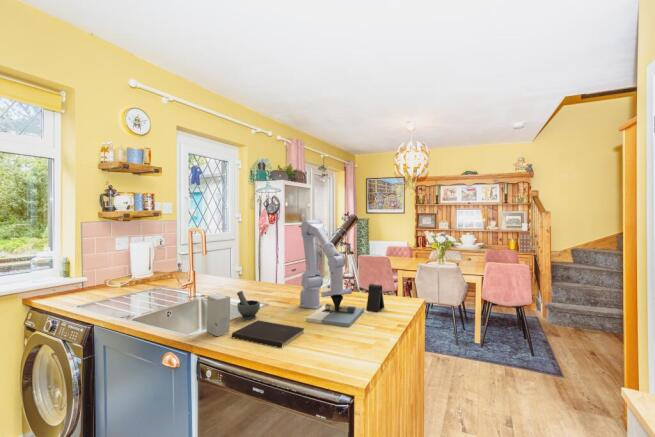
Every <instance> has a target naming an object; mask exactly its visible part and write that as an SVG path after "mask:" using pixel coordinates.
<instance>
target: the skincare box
mask: <svg viewBox="0 0 655 437" xmlns="http://www.w3.org/2000/svg"><path fill="white" fill-rule="evenodd" d="M206 301H207V302H206V303H207V304H206V330H207V331H206V330H205V331H206V333H208V332H209V334H210V333H211V335H212V334H213V336H214V335H215V337H216V336H218V337H220V335H221V336H224V335H223V334H225V333H228V332H229V333H230V326H231V325H230V322H231V321H230V320H231V296H228V295H226V294H223V293H215V294H208V295H207V299H206ZM229 333H228V334H229ZM225 335H226V334H225Z"/></svg>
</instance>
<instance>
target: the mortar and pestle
mask: <svg viewBox="0 0 655 437" xmlns="http://www.w3.org/2000/svg"><path fill="white" fill-rule="evenodd" d="M236 296H238V299H239V301H240V302H237V306H236V307H237V310H238V313H239V314H240V315H241V320H242V319H244V320H243V321H245V320H248V321H253V320H252V319H254V320H256V318H257V316H256V315H257V314H258V312H259V310H260V308H261V307H260V306H261V302H260V301H259V300H254V299H252V300H250V299H249V300H247V299H246V296H245V294H244V291H243V290H240V291H238V292H237V293H236Z"/></svg>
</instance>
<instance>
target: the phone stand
mask: <svg viewBox="0 0 655 437" xmlns="http://www.w3.org/2000/svg"><path fill="white" fill-rule="evenodd" d="M383 294H384V293H383V285H382V284H373V283H370V284H368V295H367V300H366V301H367V302H366V310H365V311H367V312H374V313H379V312H380V311H381V310H383V309H385V302H384V295H383Z"/></svg>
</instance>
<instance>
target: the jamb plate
mask: <svg viewBox="0 0 655 437" xmlns="http://www.w3.org/2000/svg"><path fill="white" fill-rule="evenodd" d="M325 305H326V304H325ZM325 305H322V306H320V307H319V308H317V309H316V310H315V312H313V313H312V314H310V315H309V316H307V317H306V321H305V322H308V323H315V324H316V323H317V324H323V319H325V318H326V317H327V316H328V315H330V314H331V313H332V312H333V311H332V310H325Z"/></svg>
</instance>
